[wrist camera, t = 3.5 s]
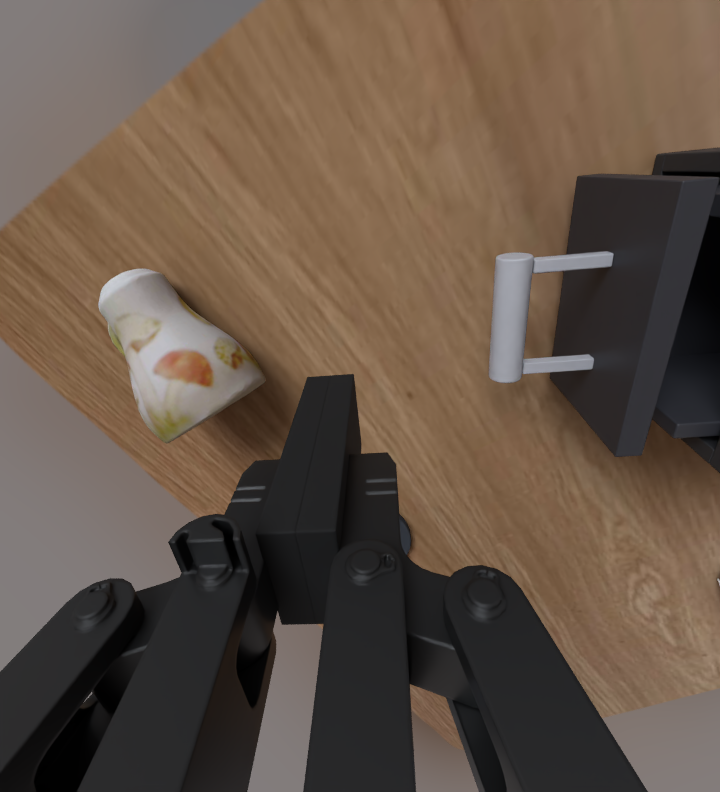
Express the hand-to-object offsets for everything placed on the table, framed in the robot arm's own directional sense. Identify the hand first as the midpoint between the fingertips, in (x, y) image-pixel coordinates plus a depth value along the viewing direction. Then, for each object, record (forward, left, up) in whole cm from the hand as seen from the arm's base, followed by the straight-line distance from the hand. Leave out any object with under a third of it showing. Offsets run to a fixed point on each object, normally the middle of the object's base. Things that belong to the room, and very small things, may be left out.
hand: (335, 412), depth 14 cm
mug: (-11, -2, -13) cm, 17 cm away
